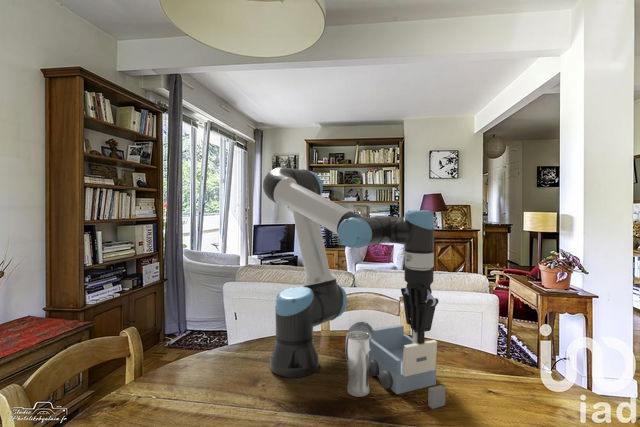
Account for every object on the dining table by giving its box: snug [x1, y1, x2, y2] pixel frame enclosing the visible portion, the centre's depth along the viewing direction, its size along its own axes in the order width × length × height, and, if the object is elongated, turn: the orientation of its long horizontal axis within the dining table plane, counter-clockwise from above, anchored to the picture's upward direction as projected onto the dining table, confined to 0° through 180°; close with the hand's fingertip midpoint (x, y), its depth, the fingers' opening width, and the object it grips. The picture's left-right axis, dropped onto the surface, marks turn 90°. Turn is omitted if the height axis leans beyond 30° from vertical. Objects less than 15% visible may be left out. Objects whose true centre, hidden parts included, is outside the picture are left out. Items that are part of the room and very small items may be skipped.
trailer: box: [368, 324, 446, 410], centre depth 93 cm, size 24×16×12 cm
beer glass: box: [344, 331, 371, 398], centre depth 89 cm, size 7×7×15 cm
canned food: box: [346, 321, 373, 339], centre depth 115 cm, size 11×10×10 cm
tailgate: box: [402, 339, 438, 377], centre depth 89 cm, size 2×10×8 cm, turn 112°
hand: (417, 353), depth 90 cm, fingers closed
